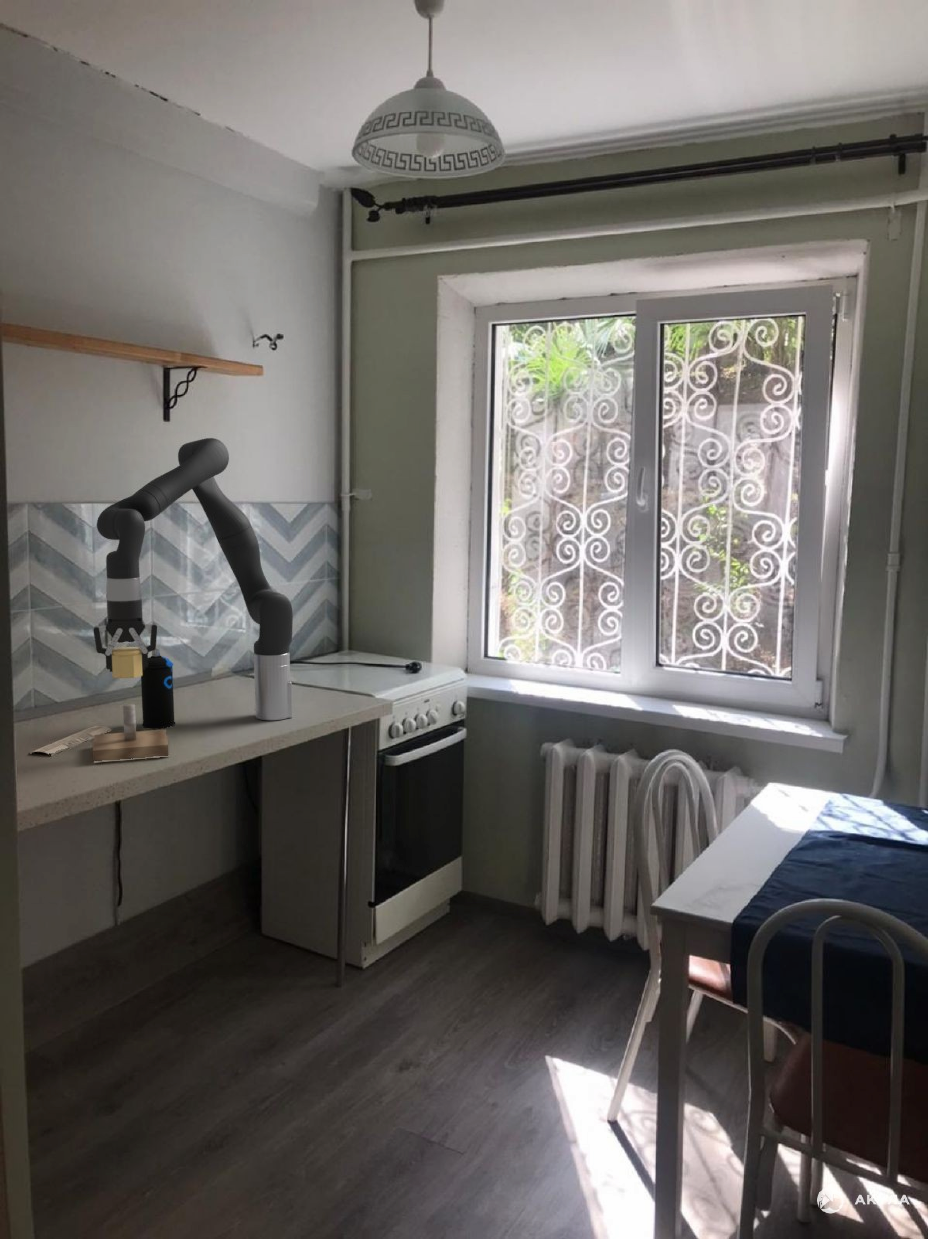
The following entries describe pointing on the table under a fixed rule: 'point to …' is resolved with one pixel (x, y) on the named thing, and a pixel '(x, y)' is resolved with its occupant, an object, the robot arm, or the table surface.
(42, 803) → the table surface
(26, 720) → the table surface
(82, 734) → the newspaper
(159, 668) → the aerosol can
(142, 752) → the bolt base
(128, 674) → the cap
